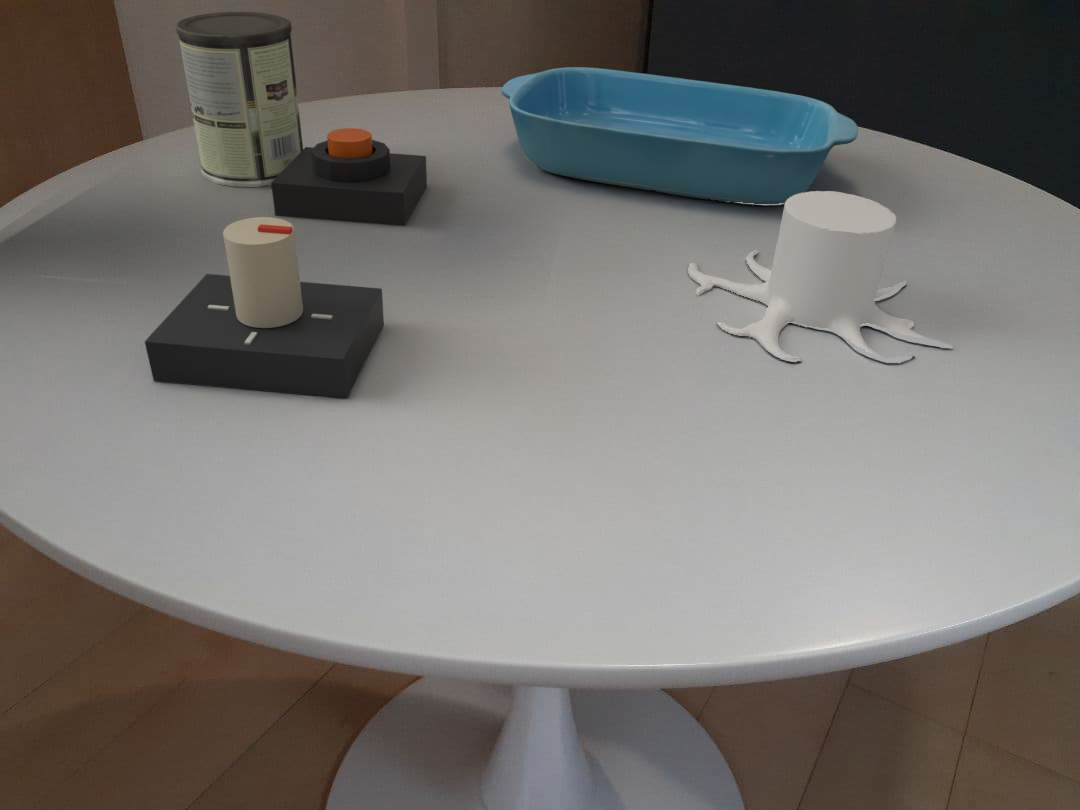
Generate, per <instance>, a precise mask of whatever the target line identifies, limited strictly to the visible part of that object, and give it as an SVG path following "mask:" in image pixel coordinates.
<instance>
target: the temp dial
mask: <svg viewBox="0 0 1080 810" xmlns="http://www.w3.org/2000/svg"><path fill="white" fill-rule="evenodd" d="M293 225H294V224H292V223H291V222H290V221H288V220H285V219H282V218H279V217H278V218H277V217H271V216H257V217H256V216H255V217H249V218H244V219H239V220H236V221H234V222H232V223H230V224H228V225H227V226H226V227H225V228H224V229H223V232H222V236H223V241H224V247H225V254H226V259H227V260H226V261H227V266H228V273H229V276H230V279H231V286H232V292H233V298H234V304H235V310H236V316H237V319H238V320H239V321H240V322H241V323H243V324H245V325H247V326H250V327H255V328H274V327H280V326H284V325H287V324H290V323H292V322H294V321H296V320H297V319H298V318H299V317H300V316H301V315H302V313H303V303H302V294H301V285H300V282H301V277H300V270H299V269H300V268H299V261H298V259H299V258H298V252H297V243H296V234H295V233H296V232H295V227H294V226H293Z"/></svg>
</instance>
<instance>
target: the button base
mask: <svg viewBox="0 0 1080 810" xmlns="http://www.w3.org/2000/svg"><path fill="white" fill-rule="evenodd" d="M372 149H373V154H371V155H368V156H365V157H359V158H340V157H335V156H331V155H329V152H328V141H327V140H325V141H321V142H319V143H317V144H315V145H314V147H313V146H305V147H303V150H302V151H301V152H300V153H299V154H298V156H297V157H296V158H295V159H294V160H293V161H292V162H291V163H290V164H289V165H288V166H287V167H286V168H285V169H284V170H283V171H282V172H281V173H280V174H279V175H278V176H277V177H276V178H275V179H274V180H273V181H272V182H271V186H270V187H271V192H272V201H273V208H274V216H275V217H285V218H299V219H312V220H323V221H335V222H336V221H337V222H347V223H348V222H349V223H360V224H373V225H374V224H375V225H384V226H385V225H386V226H396V227H397V226H399V227H405V226H406V225H407V223H408V221H409V220H410V217H411V216H412V214H413V212H414V210H415V209H416V207H417V206H418V204H419V202H420V200H421V198H422V196H423V194H424V193H425V192H426V190H427V188H428V181H427V179H428V175H427V156H426V155H418V154H417V155H416V154H406V153H405V154H404V153H394V152H393V153H390V151H391V150H390V148H389V147H388V146H387V145H386V144H385V142H381V141H378V140H375V139H372Z"/></svg>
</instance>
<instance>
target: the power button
mask: <svg viewBox="0 0 1080 810" xmlns="http://www.w3.org/2000/svg"><path fill="white" fill-rule="evenodd" d="M372 140H373V135H372V133H371V132H370V131H369V130H367V129H361V128H354V127H353V128H352V127H349V128H348V127H346V128H337V129H334V130H332V131H329V132H328V133H327V135H326V141H328V152H329V155H331V156H335V157H340V158H359V157H365V156H368V155H371V154H373V149H372Z"/></svg>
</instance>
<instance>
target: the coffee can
mask: <svg viewBox="0 0 1080 810" xmlns="http://www.w3.org/2000/svg"><path fill="white" fill-rule="evenodd" d="M292 29H293V28H292V22H291V20H289V19H287V18H285V17H283V16H280V15H276V14H271V13H264V12H253V11H225V12H223V11H222V12H212V13H211V12H210V13H205V14H197V15H193V16H189V17H186V18H183V19H182V20H179V21H178V22H177V23H175V31H176V34H177V36H178V39H179V47H180V51H181V58H182V63H183V69H184V75H185V81H186V85H187V90H188V97H189V103H190V108H191V114H192V121H193V125H194V131H195V138H196V142H197V148H198V155H199V161H200V166H201V175H202V176H203V178H204V179H205V180H206V181H209V182H210V183H213V184H216V185H220V186H224V187H230V188H231V187H233V188H260V187H261V188H263V187H272V186H271V182H272V181H273V180H274V179H275V178H276V177H277V176H278V175H279V174H280V173H281V172H282V171H283V170H284V169H285V168H286V167H287V166H288V165H289V164H290V163H291V162H292V161H293V160H294V159H295V158H296V157H297V156H298V154H299V153H300V152H301V151H302V150H303V149H304V144H303V135H302V126H301V115H300V107H299V99H298V98H299V97H298V90H297V80H296V79H297V78H296V71H295V61H294V52H293V43H292Z"/></svg>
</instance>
